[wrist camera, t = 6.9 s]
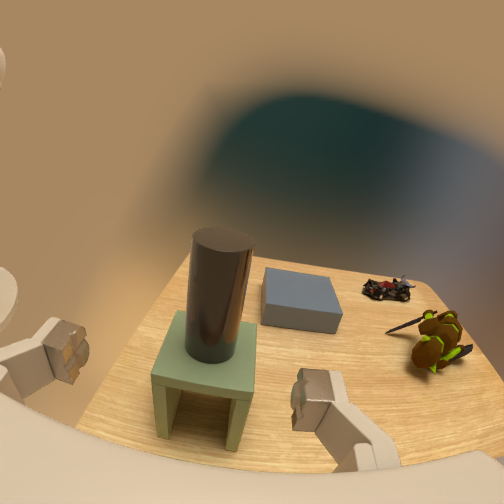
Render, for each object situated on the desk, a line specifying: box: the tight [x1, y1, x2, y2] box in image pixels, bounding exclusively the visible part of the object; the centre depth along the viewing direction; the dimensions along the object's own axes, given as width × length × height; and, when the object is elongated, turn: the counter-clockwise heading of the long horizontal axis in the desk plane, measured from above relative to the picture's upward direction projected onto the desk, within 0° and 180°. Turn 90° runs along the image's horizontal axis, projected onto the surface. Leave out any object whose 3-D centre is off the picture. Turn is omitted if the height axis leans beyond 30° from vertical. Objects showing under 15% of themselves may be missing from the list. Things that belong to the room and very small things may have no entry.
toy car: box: [362, 276, 416, 301], centre depth 61 cm, size 6×12×4 cm, turn 96°
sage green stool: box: [151, 310, 257, 451], centre depth 27 cm, size 8×9×10 cm
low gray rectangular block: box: [261, 267, 343, 334], centre depth 51 cm, size 12×12×4 cm
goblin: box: [386, 310, 473, 375], centre depth 43 cm, size 10×14×15 cm
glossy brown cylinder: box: [184, 227, 255, 364], centre depth 23 cm, size 4×4×10 cm
